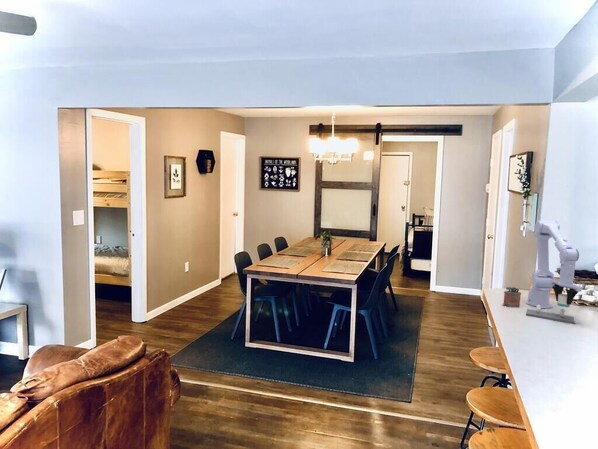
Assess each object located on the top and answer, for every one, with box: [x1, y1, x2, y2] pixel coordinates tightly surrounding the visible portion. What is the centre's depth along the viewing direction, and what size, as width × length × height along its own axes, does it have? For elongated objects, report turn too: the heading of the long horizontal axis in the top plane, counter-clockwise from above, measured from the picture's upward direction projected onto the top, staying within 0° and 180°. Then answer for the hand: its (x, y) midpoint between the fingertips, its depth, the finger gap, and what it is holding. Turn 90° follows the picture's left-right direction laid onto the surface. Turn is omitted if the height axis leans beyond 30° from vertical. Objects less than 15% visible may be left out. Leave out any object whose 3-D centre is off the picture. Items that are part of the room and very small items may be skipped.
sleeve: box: [556, 293, 571, 308], centre depth 219 cm, size 5×5×5 cm
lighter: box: [502, 286, 522, 308], centre depth 237 cm, size 8×3×10 cm, turn 84°
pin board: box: [525, 305, 575, 324], centre depth 222 cm, size 20×9×5 cm, turn 60°
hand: (563, 302), depth 219 cm, fingers closed on sleeve, 5 cm apart
